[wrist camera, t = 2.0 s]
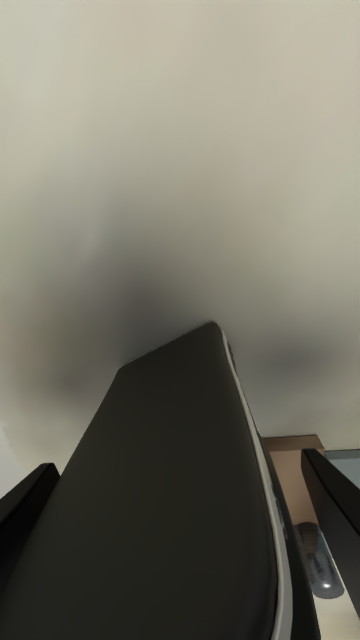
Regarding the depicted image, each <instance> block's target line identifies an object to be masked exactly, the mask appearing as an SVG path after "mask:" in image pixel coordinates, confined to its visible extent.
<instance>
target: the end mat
mask: <svg viewBox="0 0 360 640" xmlns="http://www.w3.org/2000/svg"><path fill="white" fill-rule="evenodd" d="M324 457H325V458H326V459H327V460H329V461H330V462H331V463H332V464H333V465H334V466H335V467H336V468H337V469H338V470H340V471H341V472H342V473H343V474H344V475H345V476H346V477H347V478H348V479H349V480H350V481H352V482H353V483H354V484H355V485H356V486H357V487H358V488H359V489H360V450H346V451H329V452H324ZM318 526H319V523H318ZM319 528H320V526H319ZM320 531H321V528H320ZM321 533H322V531H321ZM322 536H323V533H322ZM323 538H324V536H323ZM324 541H325V543H326V540H325V538H324ZM326 546H327V548H328V551H329V553H330V556H331V558H333V557H332V554H331V552H330V550H329V547H328V545H327V543H326Z"/></svg>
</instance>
